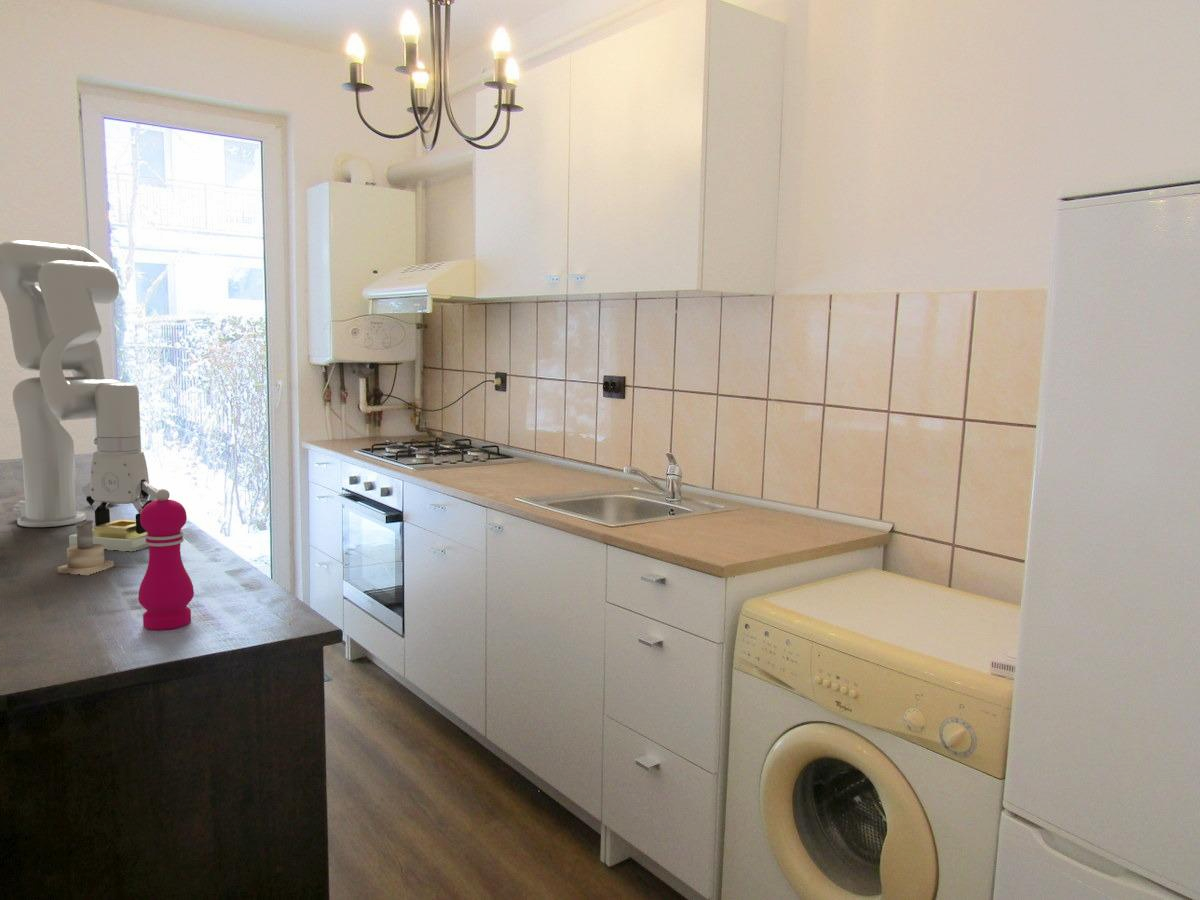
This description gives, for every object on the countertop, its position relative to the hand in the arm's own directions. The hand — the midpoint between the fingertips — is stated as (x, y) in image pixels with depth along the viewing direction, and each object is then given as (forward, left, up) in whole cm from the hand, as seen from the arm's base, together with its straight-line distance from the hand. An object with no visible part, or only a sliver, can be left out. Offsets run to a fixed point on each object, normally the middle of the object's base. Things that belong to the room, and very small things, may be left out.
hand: (123, 530), depth 168 cm
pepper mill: (+40, -39, -3) cm, 56 cm away
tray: (0, +1, -2) cm, 3 cm away
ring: (0, 0, -2) cm, 2 cm away
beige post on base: (+8, -19, -2) cm, 20 cm away
